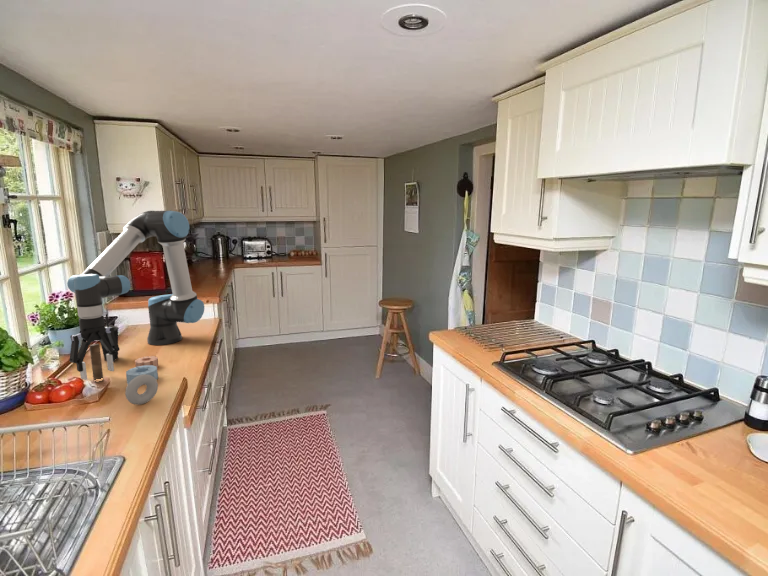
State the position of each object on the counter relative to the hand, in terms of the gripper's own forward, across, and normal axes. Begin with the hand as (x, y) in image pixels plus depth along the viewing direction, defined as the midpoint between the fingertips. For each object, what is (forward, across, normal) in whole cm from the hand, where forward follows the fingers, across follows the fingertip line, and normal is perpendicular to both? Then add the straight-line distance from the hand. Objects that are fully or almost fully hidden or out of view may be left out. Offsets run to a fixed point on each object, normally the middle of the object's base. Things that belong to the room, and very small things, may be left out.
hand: (97, 374), depth 150 cm
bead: (+2, -17, +3) cm, 17 cm away
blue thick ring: (+2, -8, +14) cm, 16 cm away
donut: (+3, +4, +33) cm, 33 cm away
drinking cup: (+3, -16, -20) cm, 26 cm away
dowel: (+2, 0, 0) cm, 2 cm away
